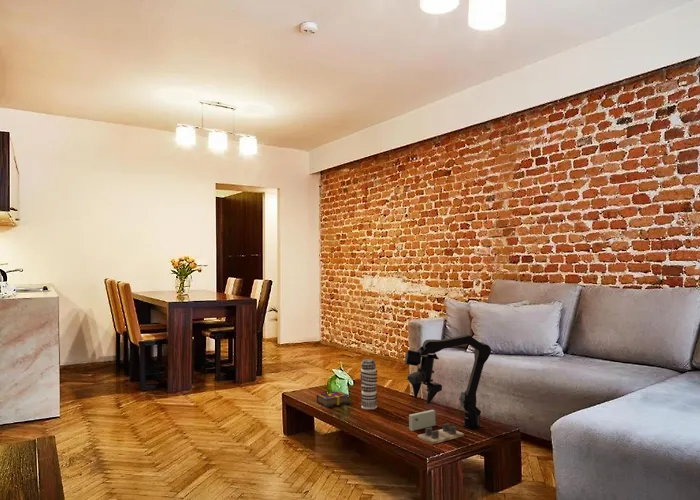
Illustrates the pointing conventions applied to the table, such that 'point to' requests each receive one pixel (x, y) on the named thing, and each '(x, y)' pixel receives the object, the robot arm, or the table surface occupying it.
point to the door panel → (421, 420)
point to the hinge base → (440, 434)
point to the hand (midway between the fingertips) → (421, 400)
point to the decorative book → (332, 398)
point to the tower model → (368, 384)
